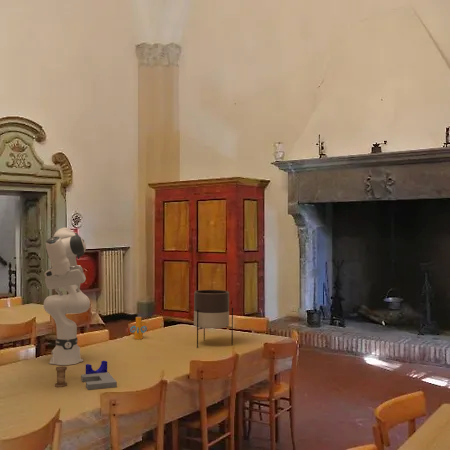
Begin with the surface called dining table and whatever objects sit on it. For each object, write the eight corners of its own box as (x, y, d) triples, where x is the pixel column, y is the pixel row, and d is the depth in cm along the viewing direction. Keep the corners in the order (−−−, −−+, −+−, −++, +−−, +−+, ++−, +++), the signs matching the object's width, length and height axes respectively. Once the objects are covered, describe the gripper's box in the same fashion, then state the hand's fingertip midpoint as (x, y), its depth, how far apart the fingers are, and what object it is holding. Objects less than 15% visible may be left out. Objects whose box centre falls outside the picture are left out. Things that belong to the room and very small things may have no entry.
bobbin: (54, 384, 293) (54, 366, 293) (66, 383, 295) (66, 365, 295) (55, 387, 288) (56, 369, 288) (67, 386, 290) (67, 368, 290)
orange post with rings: (150, 338, 413) (150, 316, 413) (140, 340, 404) (140, 318, 404) (136, 336, 419) (136, 315, 419) (126, 338, 411) (126, 317, 410)
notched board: (81, 379, 303) (81, 374, 303) (108, 377, 309) (108, 372, 309) (87, 389, 285) (87, 384, 285) (116, 387, 290) (116, 382, 290)
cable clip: (90, 377, 309) (90, 365, 309) (85, 375, 312) (85, 364, 312) (109, 373, 318) (109, 361, 318) (103, 371, 321) (103, 360, 321)
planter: (216, 350, 375) (217, 295, 375) (184, 346, 388) (184, 292, 388) (237, 343, 398) (237, 291, 397) (206, 339, 411) (206, 288, 410)
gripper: (83, 262, 300) (90, 287, 304) (45, 270, 303) (53, 295, 306) (79, 266, 294) (87, 292, 297) (41, 274, 297) (49, 299, 300)
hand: (69, 293), depth 302 cm, fingers open, 8 cm apart
